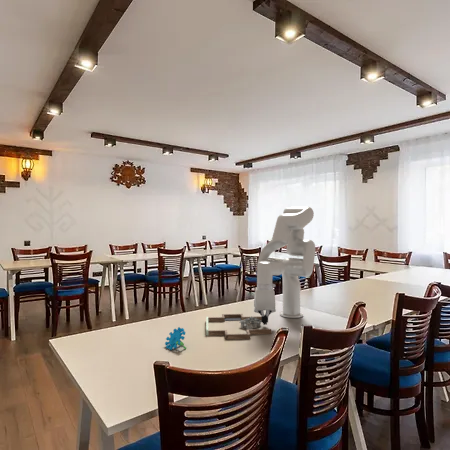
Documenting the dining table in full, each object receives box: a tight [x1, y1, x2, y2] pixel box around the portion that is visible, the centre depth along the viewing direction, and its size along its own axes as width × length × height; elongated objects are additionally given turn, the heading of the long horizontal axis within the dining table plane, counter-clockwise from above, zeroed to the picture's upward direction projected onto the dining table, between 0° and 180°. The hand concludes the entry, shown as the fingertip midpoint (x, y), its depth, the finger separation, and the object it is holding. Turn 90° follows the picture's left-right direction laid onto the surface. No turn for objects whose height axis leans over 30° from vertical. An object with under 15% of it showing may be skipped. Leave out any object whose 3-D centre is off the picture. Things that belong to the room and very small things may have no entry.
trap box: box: [207, 313, 272, 340], centre depth 165 cm, size 33×29×2 cm
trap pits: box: [224, 318, 241, 322], centre depth 165 cm, size 31×9×1 cm, turn 3°
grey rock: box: [239, 316, 262, 330], centre depth 167 cm, size 11×8×4 cm
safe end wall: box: [205, 316, 209, 337], centre depth 165 cm, size 22×1×2 cm, turn 3°
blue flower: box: [164, 326, 187, 351], centre depth 140 cm, size 11×6×10 cm
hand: (264, 323), depth 166 cm, fingers closed
